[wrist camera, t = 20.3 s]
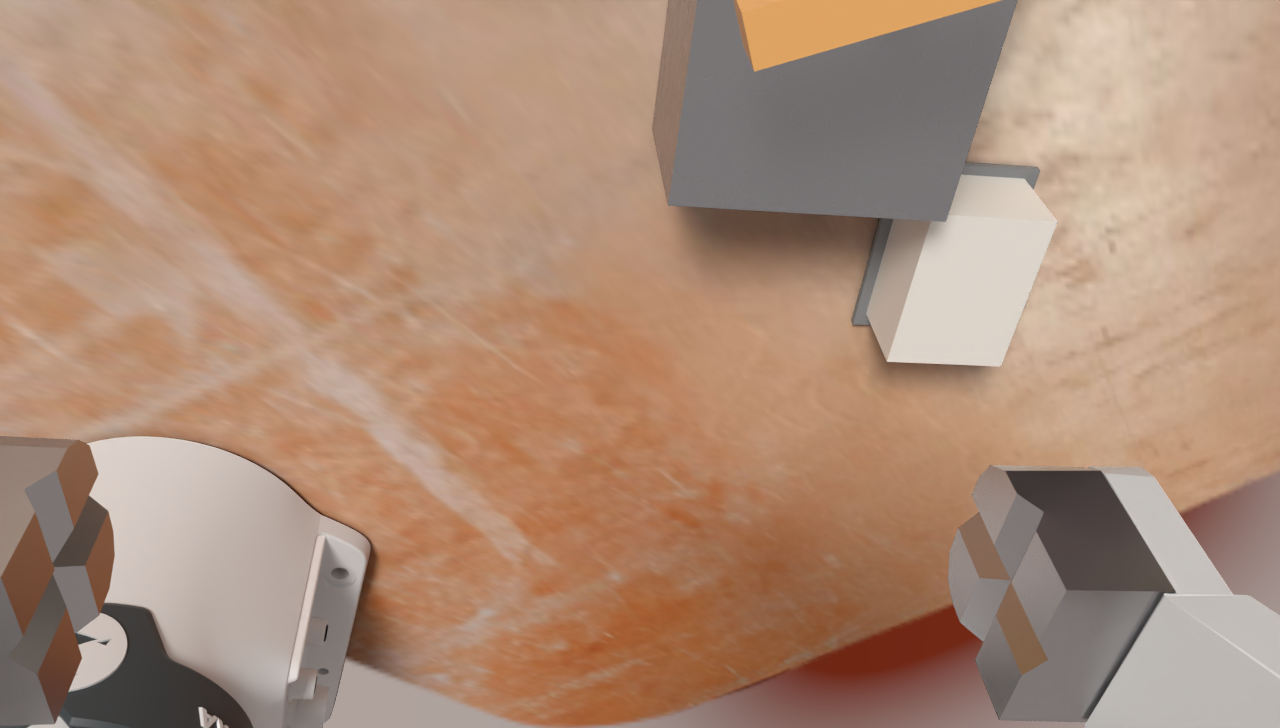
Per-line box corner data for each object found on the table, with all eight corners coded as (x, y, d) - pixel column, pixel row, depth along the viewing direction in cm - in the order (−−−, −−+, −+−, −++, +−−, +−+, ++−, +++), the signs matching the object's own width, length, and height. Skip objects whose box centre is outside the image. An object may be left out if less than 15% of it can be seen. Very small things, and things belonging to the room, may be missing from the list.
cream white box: (973, 318, 48) (1000, 366, 45) (866, 313, 47) (886, 361, 45) (1024, 178, 44) (1057, 221, 41) (907, 171, 43) (933, 214, 40)
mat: (979, 326, 49) (981, 330, 48) (851, 320, 48) (852, 324, 48) (1037, 167, 44) (1040, 170, 44) (896, 157, 43) (898, 161, 43)
